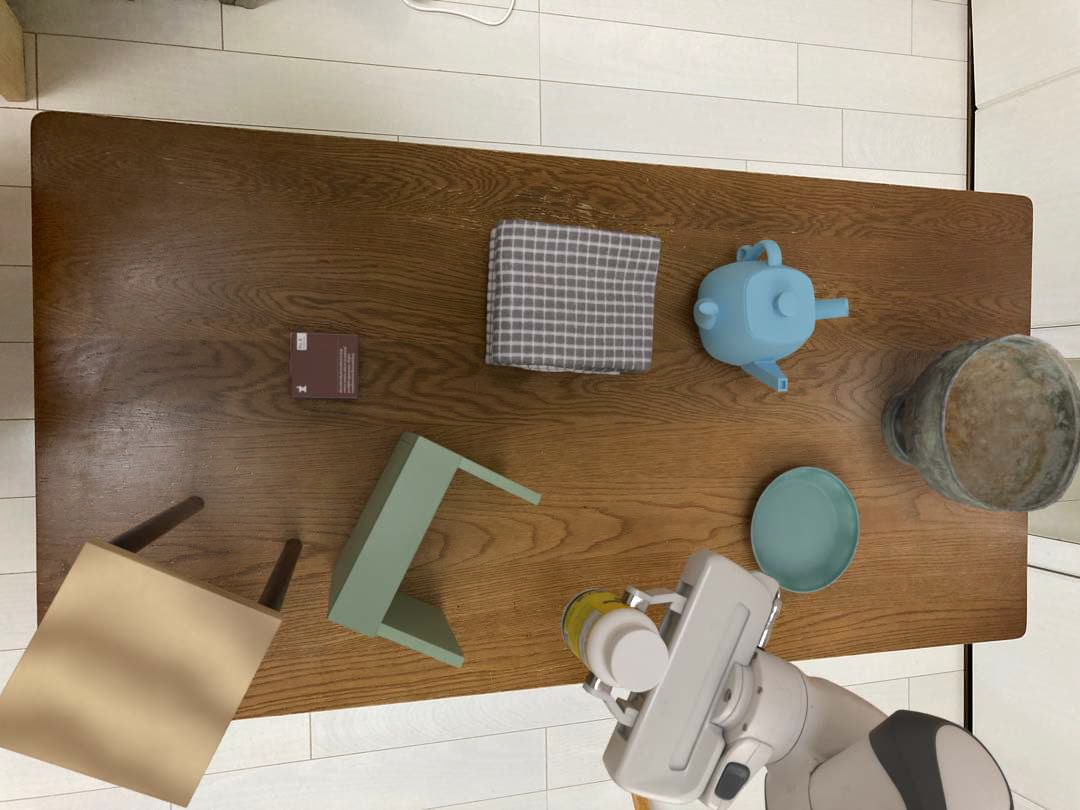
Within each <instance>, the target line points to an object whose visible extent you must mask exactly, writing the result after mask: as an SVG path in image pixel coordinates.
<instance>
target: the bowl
mask: <svg viewBox="0 0 1080 810" xmlns="http://www.w3.org/2000/svg"><path fill="white" fill-rule="evenodd" d="M881 433H882V438H883V442H884V444H885V447H886V449H887V450H888V452H889V453H890V454H891V456H892V457H894V458H895V459H896V460H897V461H898V462H900V463H901V464H903V465H906V466H909V467H914V468H915V469H916V471H917V472H918V474H919V476H920V477H921V478H922V480H923V481H924V482H925V484H926V485H927V486H928V487H929V488H930V489H932V490H933V491H934V492H936V493H937V494H938V495H940V496H941V497H942V498H944V499H946V500H948V501H952V502H956V503H958V504H960V505H963V506H967V507H969V508H970V507H971V508H973V509H979V510H984V511H990V512H1005V513H1031V512H1035V511H1038V510H1044V509H1046V508H1048V507H1050V506H1052V505H1054V504H1056V503H1057V502H1058V501H1060V499H1062V498H1063V496H1064V495H1065V494H1066V493H1067V491H1068V489H1069V487H1070V486H1071V485H1072V482H1073V480H1074V478H1075V475H1076V473H1077V471H1078V468H1079V465H1080V383H1079V379H1078V377H1077V375H1076V373H1075V371H1074V369H1073V367H1072V366H1071V364H1070V363H1069V362H1068V360H1067V358H1065V357H1064V355H1063V354H1062V353H1061V352H1060V350H1059V349H1057V348H1056V347H1054V346H1053V345H1051V344H1050V343H1049V342H1047V341H1045V340H1043V339H1041V338H1039V337H1034V336H1031V335H1026V334H1021V333H1016V334H1008V335H1004V336H1000V337H994V338H992V337H987V338H985V339H974V338H973V339H970V340H967V341H965V342H962V343H960V344H958V345H956V346H953V347H951V348H948V349H945V350H943V352H941V353H939V354H938V355H937V356H936V357H935V358H934V359H933V360H932V361H931V362H930V363H928V364H927V365H926V366H925V368H924V369H923V370H922V372H921V373H920V374H919V376H918V377H916V380H915V381H914V382H913V384H912V385H911V386H908V387H905V388H903V389H901V390H899V391H898V392H896V393H895V394H894V395H893V396H892V397H891V398H890V400H889V401H888V403H887V405H886V407H885V410H884V411H883V414H882V418H881Z"/></svg>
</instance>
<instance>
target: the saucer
mask: <svg viewBox="0 0 1080 810" xmlns="http://www.w3.org/2000/svg"><path fill="white" fill-rule="evenodd" d="M860 529H861V521H860V514H859V508H858V506H857V503H856V500H855V497H854V496H853V494H852V493H851V491H850V489H849V488H848V486H847V485H846V484H845V483H844V482H843V480H842V479H840V478H839V477H838V476H836V475H835V474H834V473H832V472H830V471H829V470H827V469H823V468H820V467H815V466H799V467H794V468H791V469H789V470H787V471H784V472H782V473H781V474H780V475H779V476H777V477H776V478H775V479H773V480H772V481H771V482H770V483H769V484H768V485H767V486H766V488H765V489H764V490H763V492H762V493H761V494H760V496H759V498H758V500H757V502H756V503H755V506H754V508H753V513H752V516H751V522H750V540H751V541H750V542H751V548H752V553H753V556H754V558H755V561H756V563H757V565H758V567H759V569H760V571H762V572H764V573H766V574H768V575H770V576H772V577H773V578H774V579H775V580H776V581H777V582H778V583H779V586H780V589H783V590H785V591H788V592H791V593H795V594H809V593H816V592H818V591H819V592H820V591H821V590H823V589H825V588H828V587H829V586H831V585H832V584H834V583H835V582H836V581H837V580H839V578H841V577H842V575H843V574H844V573H845V572H846V571H847V570H848V568H849V566H850V564H851V563H852V562H853V559H854V557H855V555H856V552H857V548H858V545H859V541H860V533H861V530H860Z"/></svg>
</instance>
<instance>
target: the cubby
mask: <svg viewBox="0 0 1080 810" xmlns="http://www.w3.org/2000/svg"><path fill="white" fill-rule="evenodd" d="M458 469H460V470H462V471H464V472H466V473H468V474H470V475H471V476H474V477H476V478H478V479H481V480H482V481H485V482H486V483H489V484H490V485H493V486H495V487H497V488H499V489H502V490H503V491H506V492H508V493H510V494H511V495H513V496H516V497H518V498H520V499H522V500H524V501H526V502H528V503H530V504H532V505H535V506H538V505H539V504H540V502H541V500H542V498H543V495H542V494H541V493H539V492H537V491H535V490H532V489H530V488H529V487H527V486H524V485H522V484H520V483H518V482H516V481H514V480H512V479H509V478H507V477H506V476H503V475H502V474H499V473H498V472H495V471H493V470H491V469H489V468H487V467H485V466H483V465H481V464H479V463H477V462H475V461H473V460H470V459H468V458H467V457H464V456H463V455H461V454H459V453H457V452H454V451H453V450H451V449H449V448H447V447H445V446H442V445H440V444H438V443H437V442H434V441H432V440H430V439H428V438H426V437H424V436H422V435H420V434H416V433H414V432H410V431H408V430H403V431H402V433H401V435H400V437H399V439H398V441H397V443H396V445H395V446H394V449H393V451H392V453H391V455H390V457H389V458H388V461H387V463H386V465H385V466H384V468H383V471H382V473H381V475H380V477H379V479H378V480H377V482H376V484H375V487H374V488H373V490H372V492H371V494H370V496H369V498H368V500H367V502H366V503H365V506H364V508H363V510H362V512H361V513H360V516H359V518H358V520H357V522H356V523H355V525H354V528H353V530H352V531H351V534H350V535H349V538H348V540H347V542H346V543H345V545H344V547H343V549H342V552H341V554H340V555H339V557H338V559H337V561H336V563H335V565H334V567H333V569H332V571H331V575H330V585H329V594H328V603H327V613H326V620H327V621H329V622H331V623H334V624H337V625H339V626H341V627H344V628H346V629H349V630H350V631H351V630H352V631H353V632H355V633H359V634H361V635H363V636H366V637H369V638H371V639H374V638H375V637H376V636H380V637H381V638H384V639H387V640H389V641H392V642H394V643H396V644H398V645H402V646H404V647H406V648H408V649H411V650H413V651H416V652H418V653H421V654H422V655H425V656H428V657H431V658H433V659H435V660H438V661H440V662H442V663H445V664H447V665H450V666H453V667H455V668H457V669H461V668H462V667H463V664H464V661H465V660H466V656H465V655H464V652H463V651H462V648H461V646H460V644H459V642H458V640H457V638H456V636H455V633H454V632H453V629H452V627H451V624H450V622H449V621H448V619H447V617H446V615H445V613H444V610H443V609H441V608H439V607H436V606H435V605H433V604H432V605H431V604H429V603H427V602H426V601H424V600H423V601H422V600H420V599H418V598H415V597H413V596H411V595H408V594H407V593H404V592H402V591H399V588H400V586H401V584H402V582H403V580H404V577H405V576H406V574H407V572H408V570H409V567H410V566H411V563H412V562H413V560H414V557H415V555H416V553H417V551H418V549H419V547H420V546H421V543H422V541H423V539H424V537H425V535H426V533H427V531H428V529H429V527H430V526H431V522H432V521H433V519H434V516H435V515H436V513H437V511H438V508H439V507H440V504H441V503H442V500H443V498H444V497H445V494H446V492H447V491H448V488H449V486H450V484H451V482H452V481H453V478H454V477H455V474H456V472H457V470H458Z"/></svg>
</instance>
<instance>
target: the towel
mask: <svg viewBox="0 0 1080 810" xmlns="http://www.w3.org/2000/svg"><path fill="white" fill-rule="evenodd" d="M496 225H497V226H496V227H493V228H491V231H490V234H489V238H490V241H489V244H488V246H489V253H488V266H487V267H488V276H487V279H488V282H487V286H486V287H487V294H486V301H487V303H486V312H487V314H486V328H485V329H486V335H485V336H486V337H485V339H486V346H485V352H486V354H485V357H484V359H485V360H484V361H485V364H486V365H492V366H504V367H505V366H506V367H514V368H518V369H519V368H521V369H524V370H530V371H539V372H545V373H547V372H550V373H551V372H553V373H554V372H555V373H556V372H557V373H561V372H571V373H579V374H598V375H601V374H603V375H615V376H620V375H621V373H627V374H634V373H636V374H643V373H645V371H649V370H651V367H652V364H651V363H652V359H653V346H654V345H653V344H654V343H653V342H654V341H653V338H654V323H655V317H654V316H655V300H656V297H655V294H656V289H657V281H658V274H659V268H660V267H659V266H660V260H661V259H660V258H661V249H662V241H661V238H660V237H659V235H654V234H644V233H635V232H634V233H633V232H629V231H621V230H612V229H602V228H594V227H589V226H584V225H581V226H580V225H575V224H573V225H567V224H558V223H547V222H544V221H536V220H527V219H524V218H517V219H508V220H507V219H504V218H502V219H500V218H499V220H498V222H497V224H496Z"/></svg>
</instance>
